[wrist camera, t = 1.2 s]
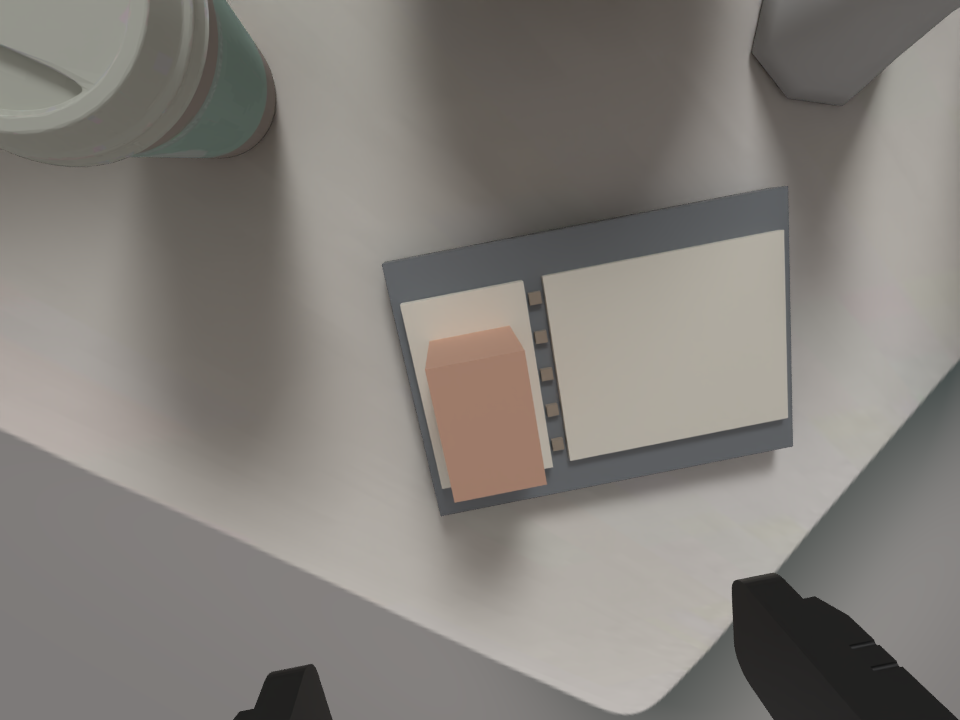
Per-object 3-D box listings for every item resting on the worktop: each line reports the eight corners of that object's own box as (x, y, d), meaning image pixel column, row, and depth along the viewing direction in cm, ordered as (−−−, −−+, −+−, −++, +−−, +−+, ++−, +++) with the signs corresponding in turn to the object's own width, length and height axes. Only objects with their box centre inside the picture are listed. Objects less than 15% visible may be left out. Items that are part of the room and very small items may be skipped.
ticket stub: (521, 279, 25) (542, 295, 19) (550, 461, 28) (576, 520, 22) (400, 303, 25) (388, 325, 19) (442, 483, 27) (441, 547, 22)
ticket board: (769, 187, 26) (793, 185, 24) (776, 435, 30) (797, 449, 28) (385, 261, 26) (380, 264, 24) (441, 501, 30) (440, 520, 28)
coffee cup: (71, 64, 23) (-319, -101, 11) (216, -62, 22) (-43, -381, 10) (207, 225, 25) (-3, 227, 13) (344, 116, 24) (248, 17, 12)
